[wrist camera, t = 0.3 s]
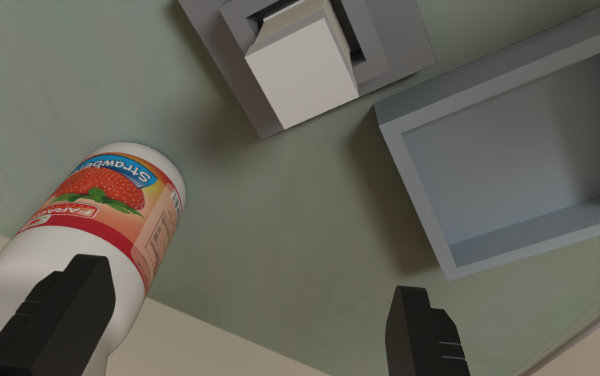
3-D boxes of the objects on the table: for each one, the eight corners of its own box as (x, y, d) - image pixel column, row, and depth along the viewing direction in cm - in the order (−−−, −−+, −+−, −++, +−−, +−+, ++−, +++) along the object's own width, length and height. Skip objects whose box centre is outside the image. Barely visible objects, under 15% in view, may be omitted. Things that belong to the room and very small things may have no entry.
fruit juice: (116, 236, 44) (-122, 628, 20) (61, 153, 39) (-330, 539, 16) (205, 215, 42) (56, 619, 19) (159, 125, 37) (-118, 515, 14)
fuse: (323, -18, 29) (323, 17, 21) (349, 42, 31) (359, 96, 23) (266, 12, 30) (244, 57, 22) (294, 68, 32) (284, 129, 24)
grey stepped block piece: (370, -124, 28) (378, -127, 24) (431, 54, 33) (446, 77, 29) (180, -15, 32) (158, -1, 27) (263, 129, 37) (256, 158, 33)
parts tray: (599, 7, 31) (632, 20, 28) (626, 190, 39) (654, 218, 35) (373, 104, 36) (378, 126, 32) (437, 251, 43) (447, 281, 40)
